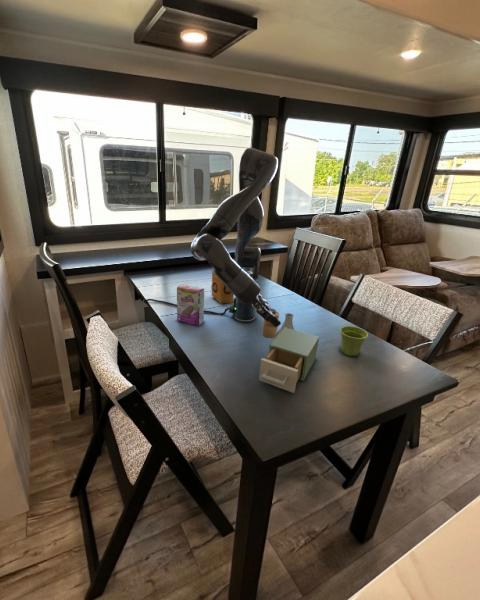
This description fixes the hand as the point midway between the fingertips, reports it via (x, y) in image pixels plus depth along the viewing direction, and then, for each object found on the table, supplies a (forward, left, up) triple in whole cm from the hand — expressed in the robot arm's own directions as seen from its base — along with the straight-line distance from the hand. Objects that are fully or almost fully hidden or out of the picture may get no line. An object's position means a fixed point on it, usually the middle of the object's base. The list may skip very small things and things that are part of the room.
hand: (276, 321), depth 100 cm
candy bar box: (-43, +13, -18) cm, 49 cm away
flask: (-3, +24, -18) cm, 31 cm away
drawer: (+5, -5, -17) cm, 19 cm away
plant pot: (+21, +26, -18) cm, 38 cm away
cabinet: (+5, +6, -18) cm, 20 cm away
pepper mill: (-2, -1, -5) cm, 5 cm away
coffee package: (-44, +43, -18) cm, 64 cm away
